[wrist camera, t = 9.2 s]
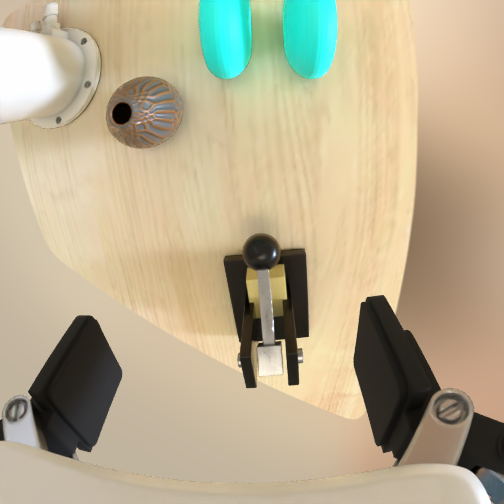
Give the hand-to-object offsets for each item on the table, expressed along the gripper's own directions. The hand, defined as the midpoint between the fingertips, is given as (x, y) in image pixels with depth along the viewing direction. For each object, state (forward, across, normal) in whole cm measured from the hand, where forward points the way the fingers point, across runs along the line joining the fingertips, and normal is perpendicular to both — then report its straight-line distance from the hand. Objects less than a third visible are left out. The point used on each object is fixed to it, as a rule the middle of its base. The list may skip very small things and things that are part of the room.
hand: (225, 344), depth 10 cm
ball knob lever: (+17, -1, +11) cm, 20 cm away
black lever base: (+23, -1, +14) cm, 27 cm away
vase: (+24, +8, -9) cm, 27 cm away
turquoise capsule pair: (+24, -4, -15) cm, 28 cm away
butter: (+22, -1, +12) cm, 25 cm away
